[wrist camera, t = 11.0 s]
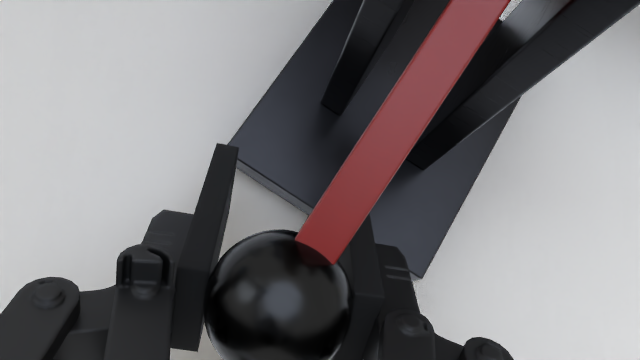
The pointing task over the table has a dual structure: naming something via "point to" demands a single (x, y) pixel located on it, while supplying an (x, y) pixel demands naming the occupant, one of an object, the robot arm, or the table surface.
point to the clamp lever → (336, 215)
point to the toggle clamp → (374, 86)
